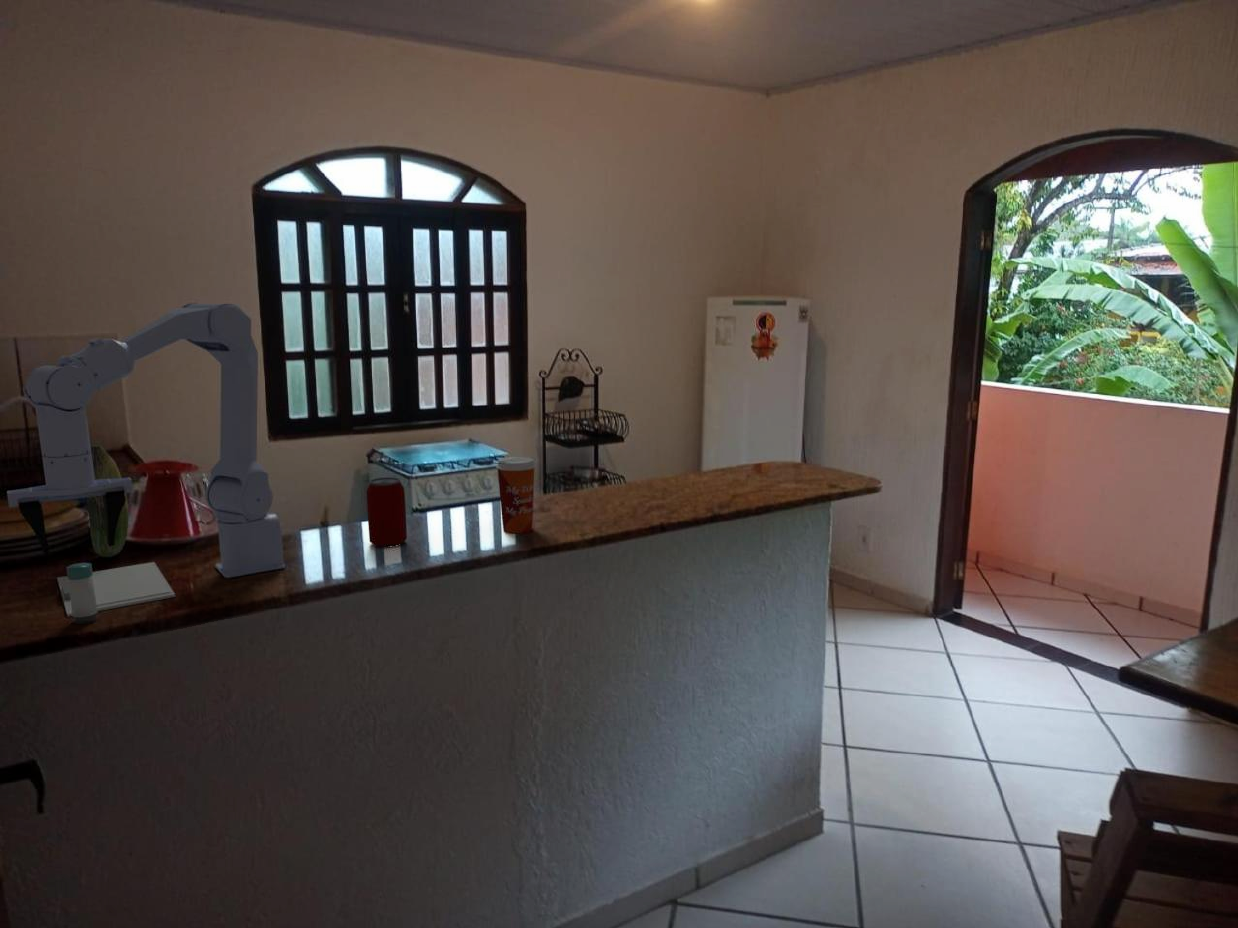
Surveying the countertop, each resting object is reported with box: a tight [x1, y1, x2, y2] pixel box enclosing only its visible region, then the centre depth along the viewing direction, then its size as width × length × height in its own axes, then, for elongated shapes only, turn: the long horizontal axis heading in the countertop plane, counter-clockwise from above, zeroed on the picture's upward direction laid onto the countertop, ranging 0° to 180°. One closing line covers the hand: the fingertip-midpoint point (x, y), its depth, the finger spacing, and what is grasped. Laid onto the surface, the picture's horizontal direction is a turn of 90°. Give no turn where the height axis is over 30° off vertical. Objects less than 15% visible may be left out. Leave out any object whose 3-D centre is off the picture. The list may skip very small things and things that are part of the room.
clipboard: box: [57, 561, 176, 618], centre depth 135 cm, size 14×20×1 cm
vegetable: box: [86, 444, 130, 558], centre depth 149 cm, size 6×6×20 cm
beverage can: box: [366, 477, 408, 548], centre depth 158 cm, size 7×7×12 cm
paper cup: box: [495, 456, 537, 535], centre depth 167 cm, size 8×8×14 cm
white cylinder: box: [66, 562, 99, 625], centre depth 121 cm, size 3×3×8 cm
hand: (79, 549), depth 120 cm, fingers open, 7 cm apart
